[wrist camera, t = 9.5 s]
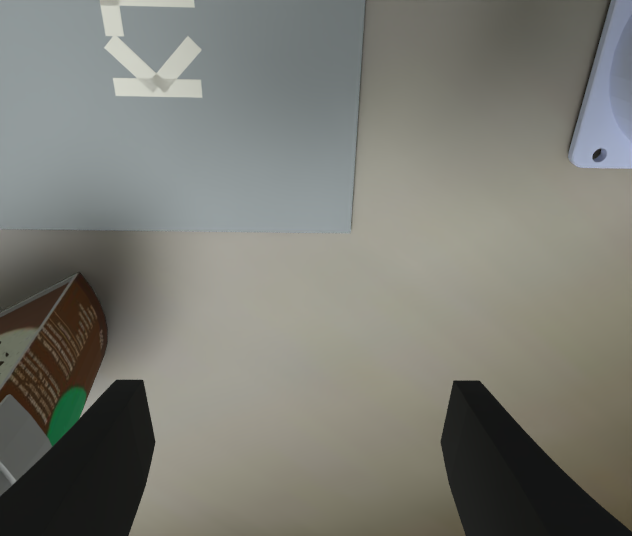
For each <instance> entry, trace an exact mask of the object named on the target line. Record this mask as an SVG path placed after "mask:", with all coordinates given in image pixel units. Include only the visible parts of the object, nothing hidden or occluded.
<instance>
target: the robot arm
mask: <svg viewBox="0 0 632 536" xmlns="http://www.w3.org/2000/svg"><path fill="white" fill-rule="evenodd" d="M600 148H601V154H600V155H599V156H598V157H597V158H595V159H592V156H593V154H594V152H595V151H596V150H597V149H600ZM568 158H569V160H570V162H571V163H573V164H574V165H575V166H577V167H581V168H626V169H632V0H611V3H610V6H609V10H608V13H607V17H606V21H605V24H604V28H603V31H602V35H601V38H600V42H599V46H598V49H597V53H596V56H595V60H594V63H593V67H592V71H591V74H590V78H589V81H588V85H587V88H586V92H585V96H584V99H583V103H582V106H581V110H580V114H579V117H578V121H577V124H576V128H575V131H574V135H573V139H572V142H571V146H570V149H569V155H568ZM154 446H155V438H154V433H153V428H152V422H151V417H150V412H149V407H148V402H147V397H146V392H145V387H144V382H143V380H116V381H115V382H114V383H112V384H111V386H110V387H109V388H108V389H107V390H106V391H105V392H104V393H103V394H102V395H101V396H100V397H99V398H98V399H97V401H96V402H95V403H94V404H93V405H92V406H91V407H90V408H89V409H88V410H87V411H86V412H85V413H84V414H83V416H82V417H81V418H80V419H79V420H78V421H77V422H76V423H75V424H74V425H73V426H72V427H71V428H70V429H69V430H68V431H67V432H66V433H65V434H64V435H63V436H62V437H61V438H60V439H59V440H58V441H57V442H56V443H55V444H54V445H53V447H52V448H51V449H50V450H49V451H48V452H47V453H46V454H45V455H44V456H43V457H42V458H41V459H39V460H38V461H37V462H36V463H35V464H34V465H33V466H32V467H31V468H30V469H29V470H28V471H27V472H26V473H25V474H24V475H22V476H21V477H20V478H19V479H18V480H17V481H16V482H15V483H14V484H13V485H12V486H11V487H10V488H9V489H7V490H6V491H5V492H4V493H3V494H2V495H1V496H0V536H128V535H129V532H130V529H131V527H132V524H133V521H134V518H135V515H136V512H137V509H138V506H139V504H140V501H141V498H142V495H143V492H144V489H145V486H146V482H147V478H148V473H149V469H150V465H151V460H152V455H153V451H154ZM441 446H442V451H443V457H444V462H445V467H446V471H447V476H448V481H449V485H450V488H451V491H452V495H453V498H454V501H455V504H456V507H457V510H458V513H459V516H460V519H461V522H462V525H463V528H464V531H465V534H466V536H632V532H631V531H630V530H629V529H628V528H627V527H625V526H624V525H623V524H622V523H621V522H619V521H618V520H617V519H616V518H615V517H614V516H612V515H611V514H610V513H609V512H608V511H606V510H605V509H604V508H603V507H602V506H601V505H599V504H598V503H597V502H596V501H595V500H594V499H593V498H592V497H590V496H589V495H588V494H587V493H586V492H585V491H584V490H583V489H582V488H581V487H580V486H579V485H578V484H576V483H575V482H574V481H573V480H572V479H571V478H570V477H569V476H568V475H567V474H566V473H565V472H564V471H563V470H562V469H561V468H560V467H559V466H558V465H557V464H556V463H555V462H554V461H553V460H552V459H551V458H550V457H549V456H548V455H547V454H546V453H545V452H544V451H543V450H542V449H541V448H540V447H539V446H538V445H537V444H536V442H535V441H534V440H533V439H532V438H531V437H530V436H529V435H528V434H527V433H526V432H525V431H524V430H523V429H522V428H521V426H520V425H519V424H518V423H517V422H516V421H515V420H514V419H513V418H512V416H511V415H510V414H509V413H508V412H507V411H506V410H505V409H504V408H503V406H502V405H501V404H500V403H499V402H498V401H497V400H496V399H495V397H494V396H493V395H492V394H491V393H490V392H489V391H488V390H487V388H486V387H485V386H484V385H483V384H482V383H481V382H480V381H453V386H452V391H451V395H450V400H449V405H448V409H447V414H446V419H445V423H444V428H443V433H442V438H441Z"/></svg>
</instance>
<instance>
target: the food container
mask: <svg viewBox="0 0 632 536" xmlns="http://www.w3.org/2000/svg"><path fill="white" fill-rule="evenodd" d="M106 346H107V324H106V319H105V315H104V312H103V309H102V307H101V304H100V302H99V300H98V298H97V296H96V294H95V293H94V291H93V289H92V287H91V286H90V285H89V284H88V282H87V281H86V280H85V278H84V277H83V276H82V275H81V273H80V272H78V273H76V274H74V275H72V276H70V277H68V278H66V279H64V280H62V281H60V282H59V283H57V284H55V285H53V286H51V287H49V288H47V289H45V290H43V291H41V292H39V293H37V294H35V295H33V296H31V297H29V298H27V299H25V300H23V301H22V302H20V303H18V304H16V305H14V306H12V307H10V308H8V309H6V310H4V311H2V312H0V496H1V495H2V494H3V493H4V492H5V491H6V490H7V489H9V488H10V487H11V486H12V485H13V484H14V483H15V482H16V481H17V480H18V479H19V478H20V477H21V476H22V475H24V474H25V473H26V472H27V471H28V470H29V469H30V468H31V467H32V466H33V465H34V464H35V463H36V462H37V461H38V460H39V459H41V458H42V457H43V456H44V455H45V454H46V453H47V452H48V451H49V450H50V449H51V448H52V447H53V445H54V444H55V443H56V442H57V441H58V440H59V439H60V438H61V437H62V436H63V435H64V434H65V433H66V432H67V431H68V430H69V429H70V428H71V427H72V426H73V425H74V424H75V423H76V422H77V421H78V420H79V418H80V415H81V413H82V410H83V408H84V405H85V403H86V400H87V398H88V395H89V392H90V390H91V387H92V385H93V382H94V380H95V377H96V375H97V372H98V370H99V367H100V365H101V362H102V360H103V357H104V355H105V351H106Z"/></svg>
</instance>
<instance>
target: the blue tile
mask: <svg viewBox="0 0 632 536" xmlns="http://www.w3.org/2000/svg"><path fill="white" fill-rule="evenodd" d="M364 14H365V0H0V229H28V230H114V231H200V232H286V233H350V232H351V216H352V201H353V185H354V170H355V154H356V139H357V123H358V107H359V92H360V76H361V61H362V45H363V29H364Z"/></svg>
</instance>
